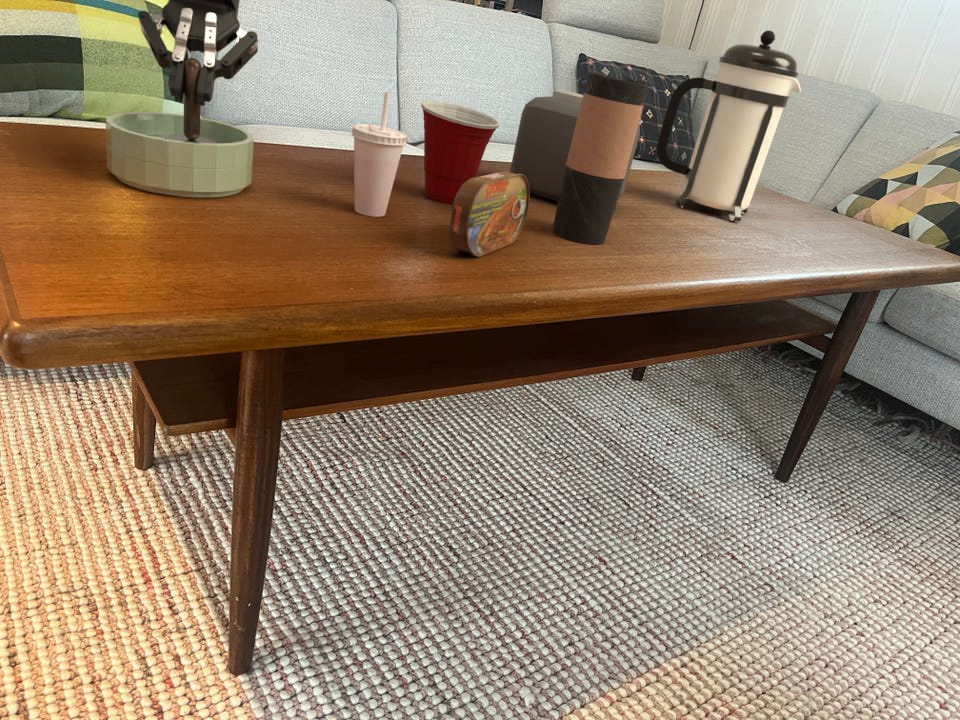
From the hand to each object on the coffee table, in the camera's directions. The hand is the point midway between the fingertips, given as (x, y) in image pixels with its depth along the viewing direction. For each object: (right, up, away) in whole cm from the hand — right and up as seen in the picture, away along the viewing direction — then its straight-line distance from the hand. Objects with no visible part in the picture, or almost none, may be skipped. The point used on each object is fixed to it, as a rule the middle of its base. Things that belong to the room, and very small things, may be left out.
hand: (189, 98), depth 81 cm
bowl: (-3, -8, +4) cm, 9 cm away
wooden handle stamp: (-2, -6, +5) cm, 8 cm away
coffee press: (+73, -2, +50) cm, 88 cm away
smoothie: (+19, -11, +7) cm, 23 cm away
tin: (+33, -16, +3) cm, 37 cm away
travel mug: (+45, -13, +16) cm, 50 cm away
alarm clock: (+45, -4, +35) cm, 57 cm away
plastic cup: (+28, -7, +21) cm, 35 cm away
